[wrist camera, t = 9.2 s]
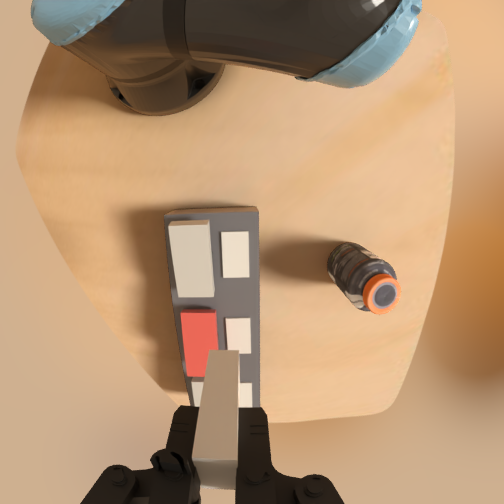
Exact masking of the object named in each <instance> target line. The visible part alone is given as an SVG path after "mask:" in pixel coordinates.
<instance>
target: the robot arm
mask: <svg viewBox="0 0 504 504" xmlns="http://www.w3.org/2000/svg"><path fill="white" fill-rule="evenodd" d="M421 10H422V0H33V1H32V5H31V18H32V19H33V24H34V26H35V27H36V29H37V30H39V31H40V32H41V33H42V34H43V35H44V36H46V37H47V38H48V39H49V40H50V42H51V43H53V44H54V45H58V46H61V47H63V48H65V49H66V50H68V51H70V52H71V53H73V54H74V55H76V56H78V57H79V58H81V59H82V60H84V61H86V62H87V63H89V64H90V65H92V66H93V67H95V68H96V69H98V70H100V71H101V72H103V73H104V74H106V77H107V80H108V83H109V86H110V88H111V90H112V92H113V94H114V95H115V97H116V98H117V99H118V100H119V101H120V102H121V103H122V104H124V105H125V106H127V107H129V108H130V109H132V110H134V111H136V112H138V113H141V114H145V115H151V116H163V115H170V114H174V113H178V112H180V111H183V110H185V109H188V108H190V107H192V106H193V105H195V104H197V103H198V102H199V101H201V100H202V99H203V98H205V97H206V96H207V95H208V94H209V93H210V92H211V91H212V90H213V88H214V87H215V86H216V84H217V83H218V81H219V80H220V78H221V76H222V73H223V71H224V67H225V64H230V65H237V66H244V67H250V68H256V69H262V70H267V71H272V72H277V73H282V74H287V75H291V76H295V78H296V79H298V80H301V81H306V82H308V81H316V82H320V83H324V84H328V85H332V86H336V87H340V88H354V87H359V86H364V85H367V84H369V83H371V82H373V81H375V80H376V79H378V78H379V77H381V76H382V75H383V74H384V73H386V72H387V71H388V70H389V69H390V68H391V67H392V66H393V65H394V63H395V62H396V61H397V60H398V59H399V58H400V56H401V55H402V54H403V52H404V51H405V49H406V48H407V46H408V45H409V43H410V41H411V40H412V38H413V36H414V33H415V31H416V28H417V26H418V23H419V21H418V19H417V18H416V16H417V15H418V14H419V13H420V11H421ZM150 461H151V463H152V465H153V468H151V469H146V470H133V471H132V470H131V469H129V468H127V467H126V466H123V465H112V466H110V467H108V468H107V469H105V470H104V471H103V473H102V474H101V476H100V477H99V479H98V480H97V481H96V483H95V484H94V485H93V487H92V488H91V490H90V491H89V493H88V494H87V495H86V496H85V498H84V499H83V501H82V502H81V503H80V504H201V497H200V485H201V487H202V488H211V489H234V490H236V492H235V504H344V502H343V500H342V499H341V497H340V495H339V494H338V492H337V490H336V489H335V487H334V485H333V484H332V482H331V481H330V480H329V479H328V478H326V477H324V476H322V475H316V474H313V475H307V476H305V477H303V478H296V477H290V476H286V475H283V474H281V473H279V472H278V471H277V470H275V468H274V467H273V465H272V462H271V453H270V442H269V431H268V419H267V415H266V413H265V412H264V410H263V409H262V407H240V371H239V350H209V354H208V360H207V366H206V372H205V377H204V383H203V389H202V395H201V401H200V407H196V406H183V405H181V406H180V407H179V408H178V409H177V410H176V411H175V413H174V416H173V420H172V424H171V428H170V432H169V436H168V440H167V444H166V449H162V450H159V451H157V452H156V453H154V454H153V455H152V457H151V459H150Z"/></svg>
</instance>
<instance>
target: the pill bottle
mask: <svg viewBox="0 0 504 504" xmlns="http://www.w3.org/2000/svg"><path fill="white" fill-rule="evenodd" d="M327 270H328V273H329V276H330V277H331V279H332V280H333V281H334V282H335V284H336V285H337V286H338V287H339V288H340V290H341V291H342V292H343V293H344V294H345V296H346V297H347V298H348V299H349V300H350V301H351V303H352V304H353V305H354V306H355V307H356V308H358V309H360V310H363V311H371V312H373V313H375V314H385V313H387V312H389V311H391V310H392V309H393V308H394V307H395V306H396V305H397V303H398V301H399V299H400V295H401V288H400V285H399V283H398V282H397V278H396V274H395V271H394V269H393V268H392V267H391V265H390V264H389V263H387V262H385V261H384V260H382V259H381V258H379V257H378V256H376V255H374V254H373V253H371V252H370V251H368V250H367V249H365V248H363V247H362V246H360V245H358V244H356V243H344V244H342V245H340V246H338V247H337V248H336V249H334V251H333V252H332V253H331V255H330V257H329V259H328V264H327Z"/></svg>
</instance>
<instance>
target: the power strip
mask: <svg viewBox="0 0 504 504" xmlns="http://www.w3.org/2000/svg"><path fill="white" fill-rule="evenodd" d="M190 220H209V224H210V239H211V252H212V264H213V276H214V288H215V292H214V297H178V291H177V285H176V279H175V273H174V266H173V259H172V252H171V245H170V237H169V229H168V226H169V224H170V223H171V221H190ZM164 223H165V237H166V248H167V259H168V269H169V278H170V286H171V295H172V302H173V310H174V317H175V324H176V330H177V336H178V343H179V349H180V354H181V360H182V365H183V371H184V376H185V381H186V386H187V391H188V396H189V400H190V405H191V406H195V404H194V397H193V390H192V383H191V381H192V378H193V376H187V370H186V362H185V353H184V344H183V334H182V324H181V312H182V310H183V309H216V316H217V333H218V349H219V350H239V371H240V407H260V285H259V211H258V209H257V207H227V208H199V209H178V210H173V211H171V212H169V213H167V214H165V215H164Z"/></svg>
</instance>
